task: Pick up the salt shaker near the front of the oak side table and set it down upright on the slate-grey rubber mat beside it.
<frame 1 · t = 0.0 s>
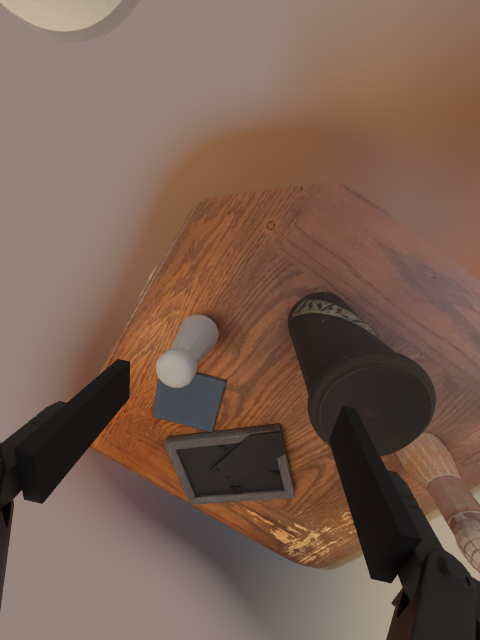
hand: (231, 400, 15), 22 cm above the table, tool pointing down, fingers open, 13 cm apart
vase: (419, 451, 41), on the table
salt shaker: (202, 327, 38), on the table
mat: (188, 397, 42), on the table
container: (316, 320, 35), on the table
picture frame: (231, 462, 46), on the table
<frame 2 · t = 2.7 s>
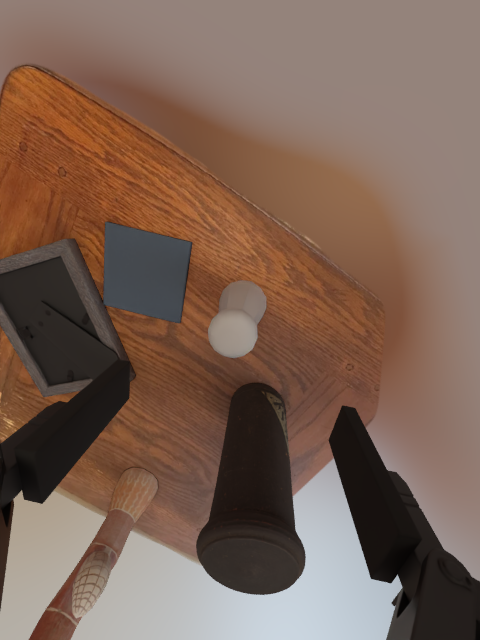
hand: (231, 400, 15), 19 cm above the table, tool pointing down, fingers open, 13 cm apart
vase: (136, 481, 47), on the table
salt shaker: (244, 298, 32), on the table
mat: (146, 274, 32), on the table
container: (257, 404, 38), on the table
picture frame: (62, 324, 37), on the table
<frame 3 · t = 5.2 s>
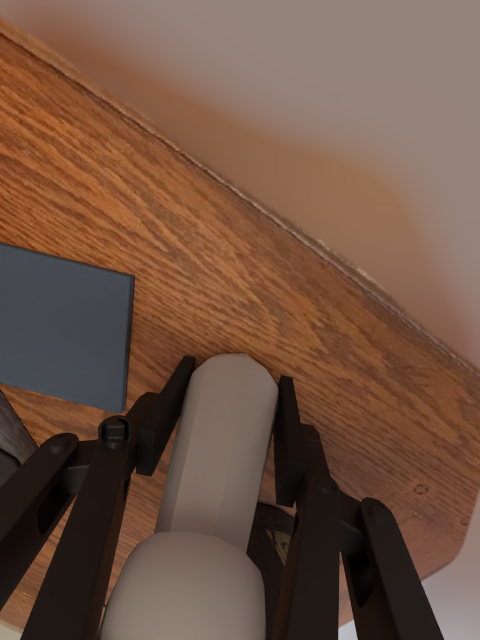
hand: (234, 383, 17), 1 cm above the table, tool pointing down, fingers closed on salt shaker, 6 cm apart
salt shaker: (236, 375, 18), on the table, touching gripper
mat: (56, 331, 18), on the table
container: (259, 529, 23), on the table
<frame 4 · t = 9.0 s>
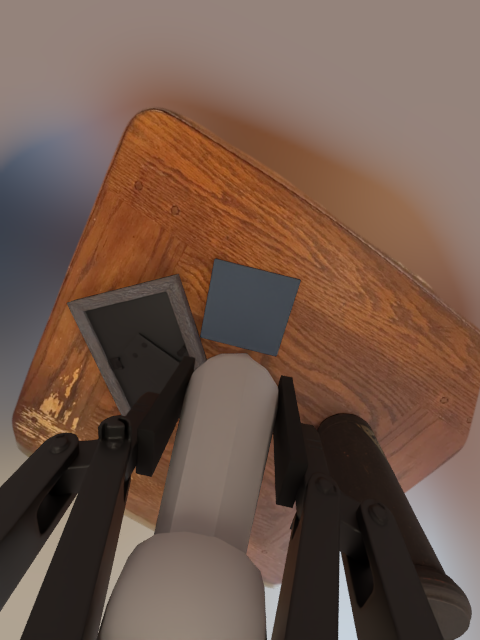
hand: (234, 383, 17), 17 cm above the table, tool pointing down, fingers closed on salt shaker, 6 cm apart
salt shaker: (236, 375, 18), point 16 cm above the table, touching gripper
mat: (247, 309, 33), on the table
container: (343, 433, 38), on the table
picture frame: (152, 354, 37), on the table
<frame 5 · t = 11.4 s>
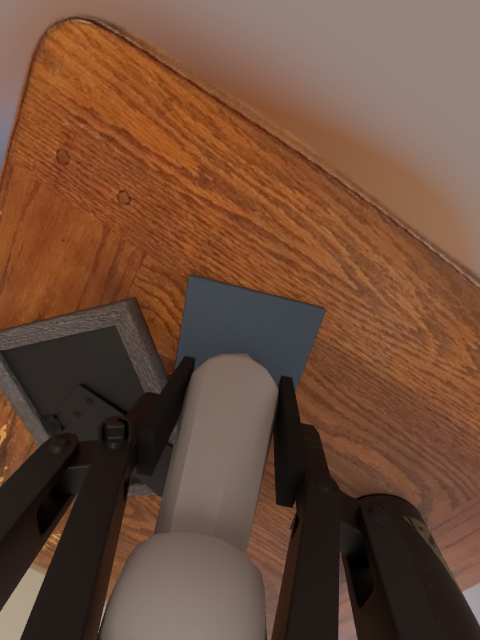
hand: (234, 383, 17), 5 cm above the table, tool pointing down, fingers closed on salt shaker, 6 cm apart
salt shaker: (236, 375, 18), point 4 cm above the table, touching gripper
mat: (242, 350, 21), on the table
container: (378, 518, 27), on the table
picture frame: (106, 408, 25), on the table
when the fingers open (1 cm above the table, at t = 12.7 s): salt shaker stays where it is, resting on mat.
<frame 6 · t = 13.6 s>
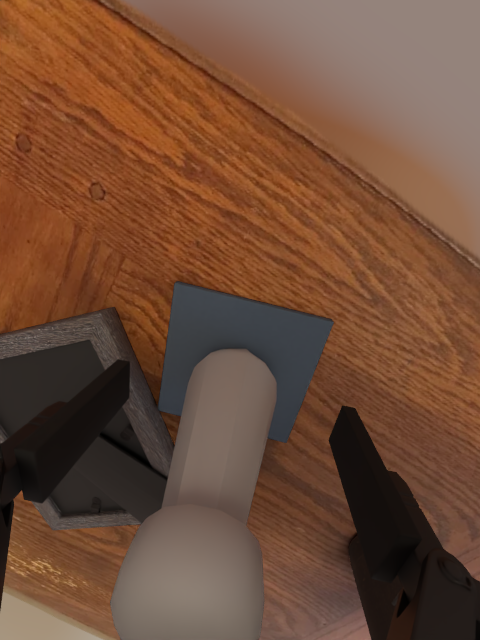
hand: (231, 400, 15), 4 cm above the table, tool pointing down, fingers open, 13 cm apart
salt shaker: (236, 370, 18), resting on mat
mat: (236, 367, 19), on the table
container: (389, 548, 24), on the table
picture frame: (85, 429, 23), on the table
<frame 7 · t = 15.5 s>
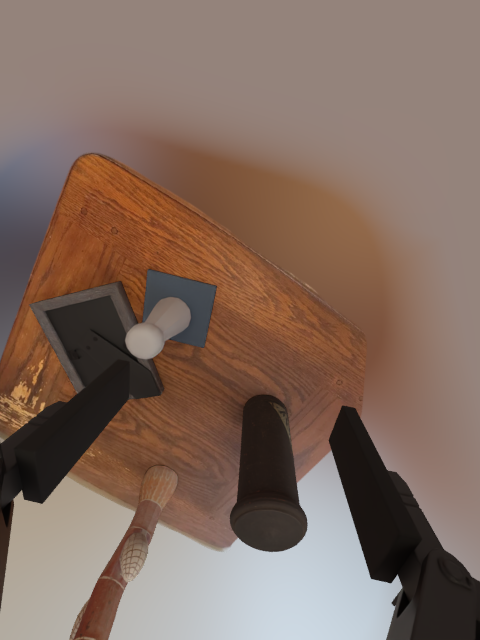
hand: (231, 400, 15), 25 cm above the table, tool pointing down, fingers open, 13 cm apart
vase: (158, 477, 54), on the table
salt shaker: (177, 310, 40), resting on mat
mat: (178, 309, 40), on the table
container: (265, 411, 46), on the table
picture frame: (104, 346, 44), on the table
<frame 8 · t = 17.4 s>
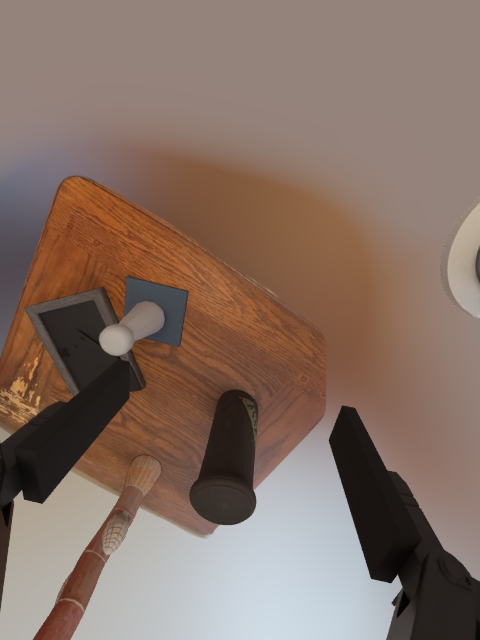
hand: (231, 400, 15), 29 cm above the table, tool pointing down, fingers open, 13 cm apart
vase: (144, 466, 59), on the table
salt shaker: (154, 313, 44), resting on mat
mat: (155, 312, 45), on the table
container: (237, 405, 50), on the table
picture frame: (91, 345, 49), on the table
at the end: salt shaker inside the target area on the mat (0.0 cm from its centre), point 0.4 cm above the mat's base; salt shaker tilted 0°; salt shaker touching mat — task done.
